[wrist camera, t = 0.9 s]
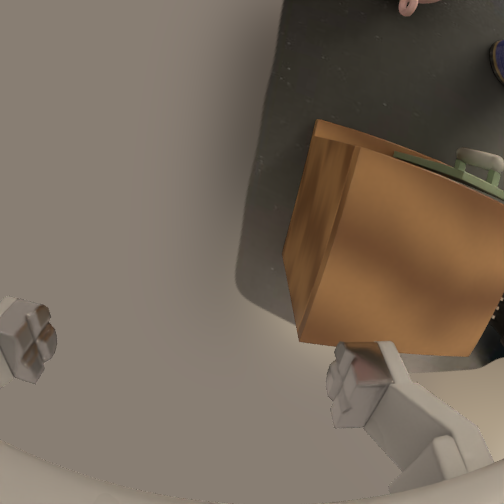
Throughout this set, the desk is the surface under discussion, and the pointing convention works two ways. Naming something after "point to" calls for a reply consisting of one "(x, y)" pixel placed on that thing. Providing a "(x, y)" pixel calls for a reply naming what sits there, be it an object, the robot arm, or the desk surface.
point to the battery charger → (499, 319)
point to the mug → (411, 6)
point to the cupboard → (390, 249)
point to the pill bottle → (498, 60)
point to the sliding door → (458, 172)
